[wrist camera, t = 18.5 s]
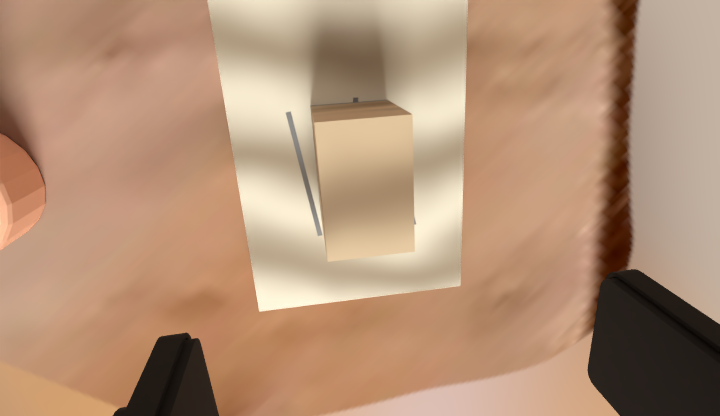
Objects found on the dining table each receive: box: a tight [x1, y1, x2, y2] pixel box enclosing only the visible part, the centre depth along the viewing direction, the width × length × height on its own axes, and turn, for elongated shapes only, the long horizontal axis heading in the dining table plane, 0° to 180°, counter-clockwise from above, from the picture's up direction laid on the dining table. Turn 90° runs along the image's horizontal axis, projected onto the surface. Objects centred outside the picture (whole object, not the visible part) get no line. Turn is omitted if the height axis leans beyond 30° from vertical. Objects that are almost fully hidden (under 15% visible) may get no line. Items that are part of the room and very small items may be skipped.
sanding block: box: [310, 100, 415, 262], centre depth 24 cm, size 7×4×6 cm, turn 3°
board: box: [207, 0, 468, 311], centre depth 27 cm, size 20×14×2 cm
